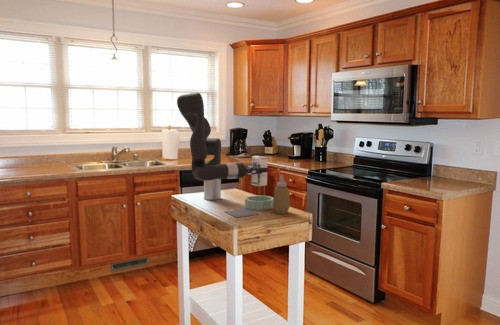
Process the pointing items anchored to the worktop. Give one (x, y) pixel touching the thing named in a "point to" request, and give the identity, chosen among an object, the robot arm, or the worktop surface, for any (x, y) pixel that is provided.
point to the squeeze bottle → (281, 197)
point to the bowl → (259, 202)
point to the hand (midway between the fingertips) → (263, 169)
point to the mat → (241, 213)
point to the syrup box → (259, 163)
